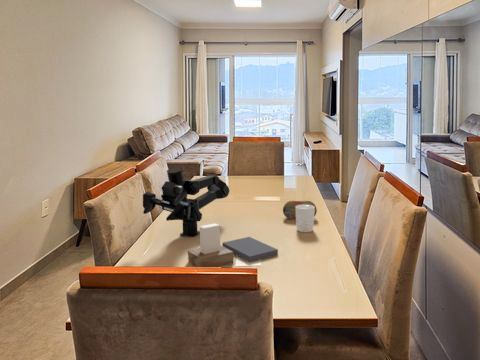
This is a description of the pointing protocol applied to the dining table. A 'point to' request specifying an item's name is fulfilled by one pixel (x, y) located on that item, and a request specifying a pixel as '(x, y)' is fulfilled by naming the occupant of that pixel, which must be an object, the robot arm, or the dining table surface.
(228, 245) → the rubber mat
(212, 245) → the white rectangular block
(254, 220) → the dining table surface
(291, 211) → the tin
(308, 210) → the white cup
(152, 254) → the dining table surface
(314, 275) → the dining table surface
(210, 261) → the walnut stand
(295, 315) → the dining table surface
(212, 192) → the robot arm
